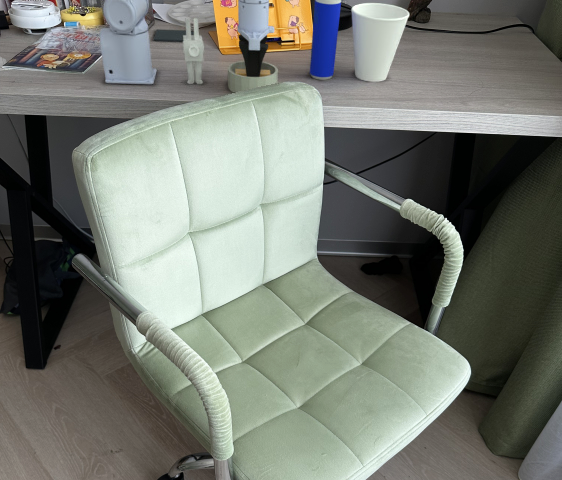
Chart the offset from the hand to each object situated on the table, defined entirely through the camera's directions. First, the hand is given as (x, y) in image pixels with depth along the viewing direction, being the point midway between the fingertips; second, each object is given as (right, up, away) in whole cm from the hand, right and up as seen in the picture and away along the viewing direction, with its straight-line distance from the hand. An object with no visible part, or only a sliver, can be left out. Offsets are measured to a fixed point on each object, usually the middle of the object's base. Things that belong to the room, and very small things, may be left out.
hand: (252, 78), depth 116 cm
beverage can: (+14, +4, +8) cm, 17 cm away
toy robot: (-12, -1, +1) cm, 12 cm away
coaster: (-20, +21, +22) cm, 36 cm away
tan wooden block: (0, -1, +1) cm, 1 cm away
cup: (+25, +5, +9) cm, 27 cm away
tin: (0, -1, +1) cm, 2 cm away
